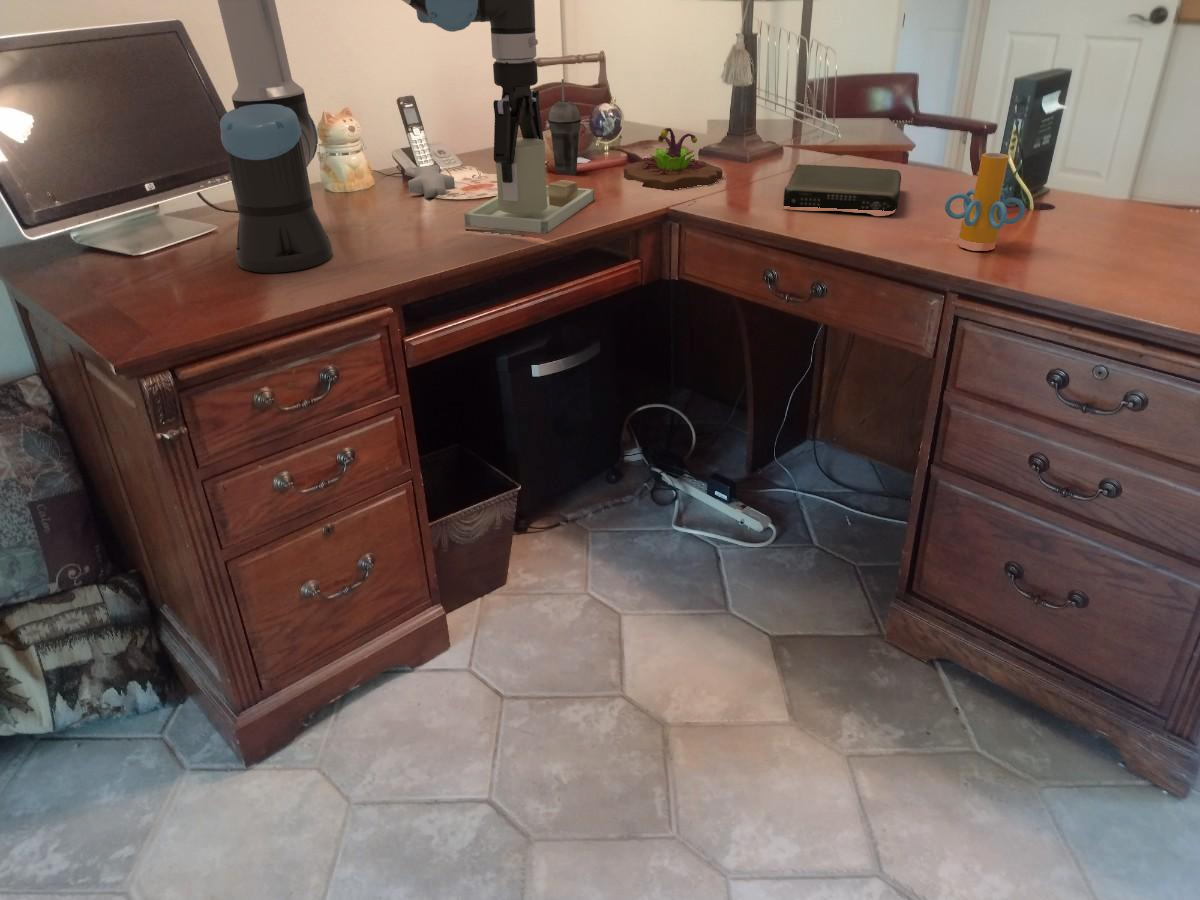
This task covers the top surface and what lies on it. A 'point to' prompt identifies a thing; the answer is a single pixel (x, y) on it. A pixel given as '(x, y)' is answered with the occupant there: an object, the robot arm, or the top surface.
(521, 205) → the can
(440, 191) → the grey lobed piece
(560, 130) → the beverage cup
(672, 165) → the plant
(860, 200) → the network switch
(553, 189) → the block
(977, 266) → the top surface
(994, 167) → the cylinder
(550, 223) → the tray
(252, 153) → the robot arm
